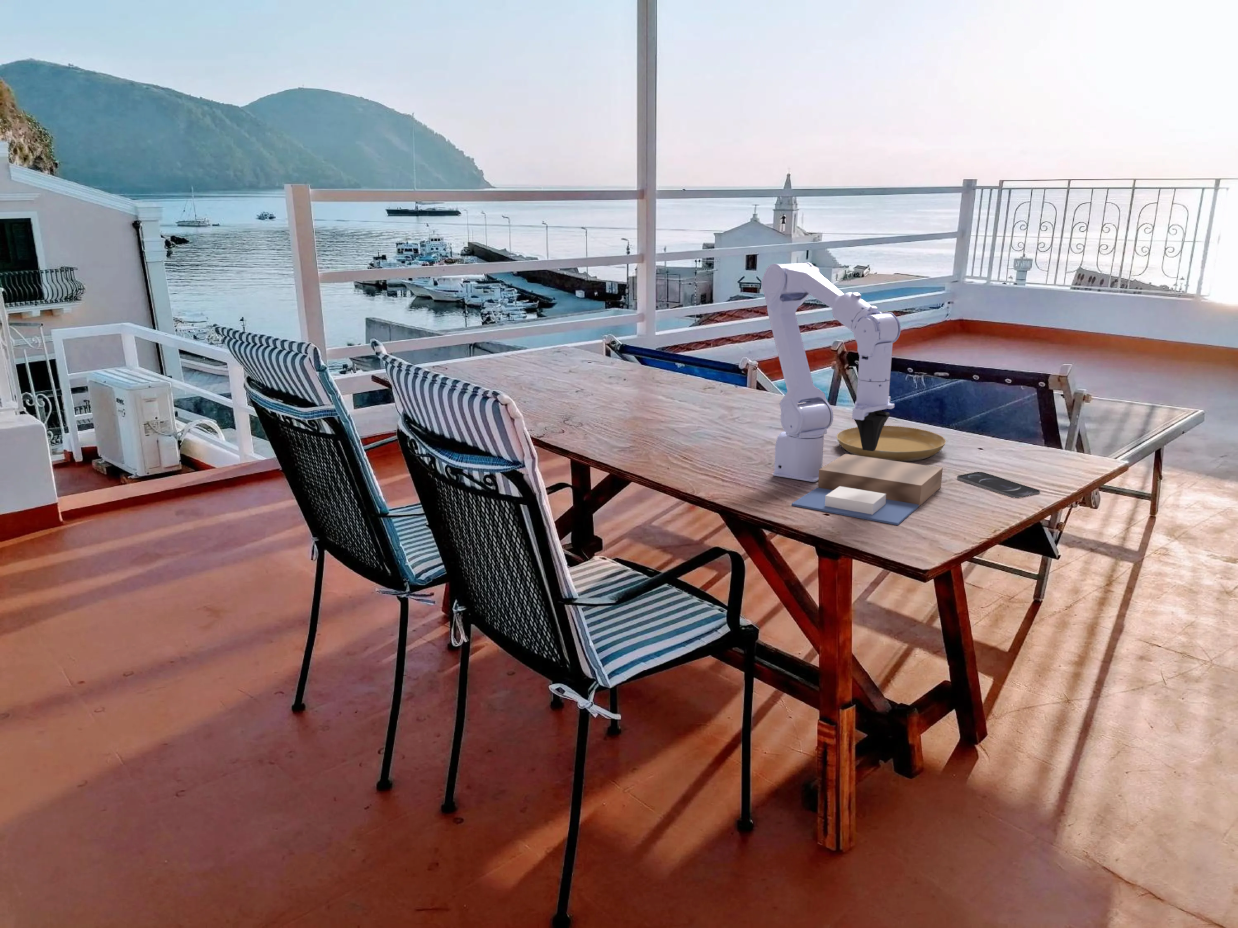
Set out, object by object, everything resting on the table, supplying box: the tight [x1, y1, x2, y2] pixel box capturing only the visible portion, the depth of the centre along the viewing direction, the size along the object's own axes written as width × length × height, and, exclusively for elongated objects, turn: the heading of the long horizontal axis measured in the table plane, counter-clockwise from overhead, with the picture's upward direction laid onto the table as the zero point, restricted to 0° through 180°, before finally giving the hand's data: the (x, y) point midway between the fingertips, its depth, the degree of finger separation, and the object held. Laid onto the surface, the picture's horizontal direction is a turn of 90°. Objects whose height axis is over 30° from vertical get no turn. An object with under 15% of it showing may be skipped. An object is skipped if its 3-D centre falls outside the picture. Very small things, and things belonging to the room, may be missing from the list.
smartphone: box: [956, 471, 1041, 499], centre depth 167 cm, size 8×1×15 cm
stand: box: [817, 453, 944, 507], centre depth 167 cm, size 20×14×4 cm
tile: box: [825, 486, 886, 515], centre depth 156 cm, size 9×7×2 cm
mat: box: [791, 486, 920, 526], centre depth 157 cm, size 20×12×1 cm, turn 54°
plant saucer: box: [836, 425, 947, 462], centre depth 195 cm, size 24×24×3 cm
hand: (868, 449), depth 160 cm, fingers closed
